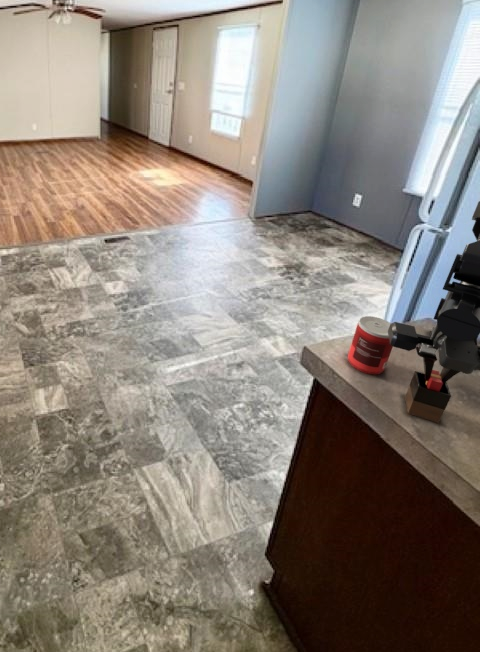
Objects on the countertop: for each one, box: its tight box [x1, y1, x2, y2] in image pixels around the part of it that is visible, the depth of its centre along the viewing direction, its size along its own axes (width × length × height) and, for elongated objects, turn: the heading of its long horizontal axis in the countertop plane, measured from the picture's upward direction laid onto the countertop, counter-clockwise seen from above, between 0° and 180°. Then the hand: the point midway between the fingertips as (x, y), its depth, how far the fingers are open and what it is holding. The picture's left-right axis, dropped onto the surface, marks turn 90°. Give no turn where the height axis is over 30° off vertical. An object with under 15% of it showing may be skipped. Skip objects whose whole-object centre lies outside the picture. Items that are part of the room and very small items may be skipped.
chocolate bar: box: [425, 369, 443, 391], centre depth 84 cm, size 4×2×2 cm, turn 152°
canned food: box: [347, 315, 394, 375], centre depth 98 cm, size 8×8×11 cm
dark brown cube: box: [404, 384, 445, 424], centre depth 87 cm, size 5×5×4 cm
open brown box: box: [409, 370, 452, 411], centre depth 85 cm, size 5×5×4 cm
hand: (432, 381), depth 85 cm, fingers closed on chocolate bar, 2 cm apart
